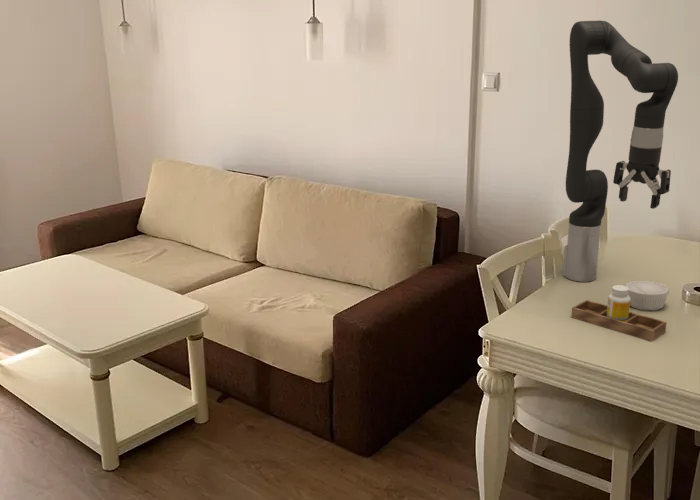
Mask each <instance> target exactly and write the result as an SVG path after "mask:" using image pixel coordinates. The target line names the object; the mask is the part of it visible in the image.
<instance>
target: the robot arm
mask: <svg viewBox="0 0 700 500" xmlns="http://www.w3.org/2000/svg"><path fill="white" fill-rule="evenodd" d="M601 54H604V55H608V56H610V61H611V64H612V66H613V68H614V69H615V70H616V71H617V72H619V73H620V75H623V76H624V77H626V79H627V80H628V82H629V83H630V85H631V88H632V89H633V90H634V91H636V92H638V93H642V94H652V95H651V96H650V98H649V99H647V100H644V101H642V102H639V103H638V104H637V105H636V107H635V113H634V122H633V127H632V131H631V135H630V136H631V138H630V143H629V151H628V152H629V153H628V162H625V160H622V161H618V162H616V165H615V170H614V174H613V175H614V176H613V180H612V181H613V184H615V185H617V186H618V187H619V190H618V191H619V193H618V199H619V201H620V202H626V201H627V199H628V193H629V184H631V183H632V182H634V183H641V184H642V185H643V184H644V185H646V186H647V187H648V188H649V189H650V190H651V192H652V194H651V199H650V209H652V210H655V209H657V208H658V207H659V205H660V202H661V201H660V200H661V196H662V195H664V194H667V193H669V192H670V185H671V177H672V176H671V175H672V171H671V169H661V168H660V167H659V165H660V161H661V154H662V148H663V140H664V126H665V118H666V113H667V109H668V108H669V107H668V106H669V105H670V103H671V100H672V98H673V95H674V92H675V91H676V87H677V86H678V81H679V72H678V70H677V68H676V66H675V64H673V63H670V62H658V63H655V62H653V61H652V59H651V57H650V56H649V55H647V53H645V52H643V51H641V50H639V48H636V47H635V46H633V45H632V44H630V43H629V42H628V41H627V40H626V38H624V37H623V35H622V34H621V33H620V32H619V31H618V30H617V29H616V27H614V25H612V24H611V23H609V22H608V21H606V20H580V21H576V22H574V24H573V25H572V27H571V30H570V34H569V58H570V59H569V60H570V77H571V79H570V82H571V83H570V84H571V86H570V90H571V91H570V106H569V107H570V109H569V147H568V148H569V149H568V159H567V167H566V176H565V193H566V195H567V198H568V200H569V201H570V202H571V203H577V204H579V203H582V204H581V205H580V206H579V207H578V208H576V209H575V210H573V211H571V213H570V214H569V218H568V229H567V231H568V232H567V243H566V245H565V246H564V247H563V259H562V270H561V271H562V272H561V276H562V277H565V278H566V279H568V280H571V281H575V282H581V283H583V282H585V283H586V282H593V281H595V280H596V279H597V273H598V262H599V253H600V251H599V250H600V243H601V242H600V240H601V230H602V229H601V227H602V220H603V218H604V216H605V212H606V204H607V199H608V198H607V197H608V190H609V183H608V178H607V175H606V174H605V172H604V171H603V170H600V169H589V170H588V169H587V167H588V165H587V164H588V157H589V155H590V152H591V150H592V148H593V145H594V144H595V142H596V140H597V139H598V137H599V135H600V133H601V131H602V129H603V125H604V115H605V112H604V111H605V103H604V102H605V101H604V98H603V96H602V94H601V92H600V89H599V88H598V87H597V84H596V83H595V81H594V80H593V78H592V75H591V72H590V69H589V56H593V55H601ZM625 170H627V173H628V174H627V175H626V176H625V177H624V174H625V173H624V172H625ZM658 175H659V176H658ZM657 176H658V177H659V179H660V182H659V179H658V178H657Z"/></svg>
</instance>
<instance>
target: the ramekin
mask: <svg viewBox="0 0 700 500" xmlns="http://www.w3.org/2000/svg"><path fill="white" fill-rule="evenodd" d="M624 286H626V287H628V288H629V293H628V296H629V297H630V299H631V301H630V307H631V306H632V308H633V307H634V309H636V308H637V310H640V309H641V311H648V310H651V311H658V310H661V309H662V308H663V307H664V306H665V303H666V300H667V296H668V295H669V294H670V293H669V292H670V289H669V288H668V286H667V285H664V283H663V284H662V283H660V282H656V281H652V280H633V281H628V282H626V284H624Z"/></svg>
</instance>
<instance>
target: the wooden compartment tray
mask: <svg viewBox="0 0 700 500" xmlns="http://www.w3.org/2000/svg"><path fill="white" fill-rule="evenodd" d="M607 305H608V304H607ZM607 305H606V304H602V303H599V302H595V301H591V300H588V299H586V300H584V301H582V302H580V303H578V304H576V305H575V306H573V307H571V317H570V318H574V319H576V320H579V321H582V322H587V323H589V324H593V325H596V326H600V327H604V328H606V329H610V330H613V331H617V332H620V333H623V334H626V335H629V336H633V337H637V338H640V339H643V340H647V341H650V342H653V341H654V340H656V339H657V338H659V337H660V336H662V335H664V334H665V333H666V332H667V331H666V330H667V321H664V320H661V319H657V318H654V317H649V316H646V315H643V314H639V313H635V312H632V311H629V317H628V320H626V321H625V322H623V321H620V320H616V319H613V318H609V317H606V315H607Z"/></svg>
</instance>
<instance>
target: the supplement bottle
mask: <svg viewBox="0 0 700 500" xmlns="http://www.w3.org/2000/svg"><path fill="white" fill-rule="evenodd" d="M628 293H629V288H628V287H626V286H625V285H621V284H620V285H619V284H617V285H613V286H612V288H611V293H610V294H609V295H608V298H607V315H606V317H609V318H613V319H616V320H620V321H623V322H625V321H626V320H628V317H629V312H630V307H631V306H630V301H631V299H630V297H629V296H628Z"/></svg>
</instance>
